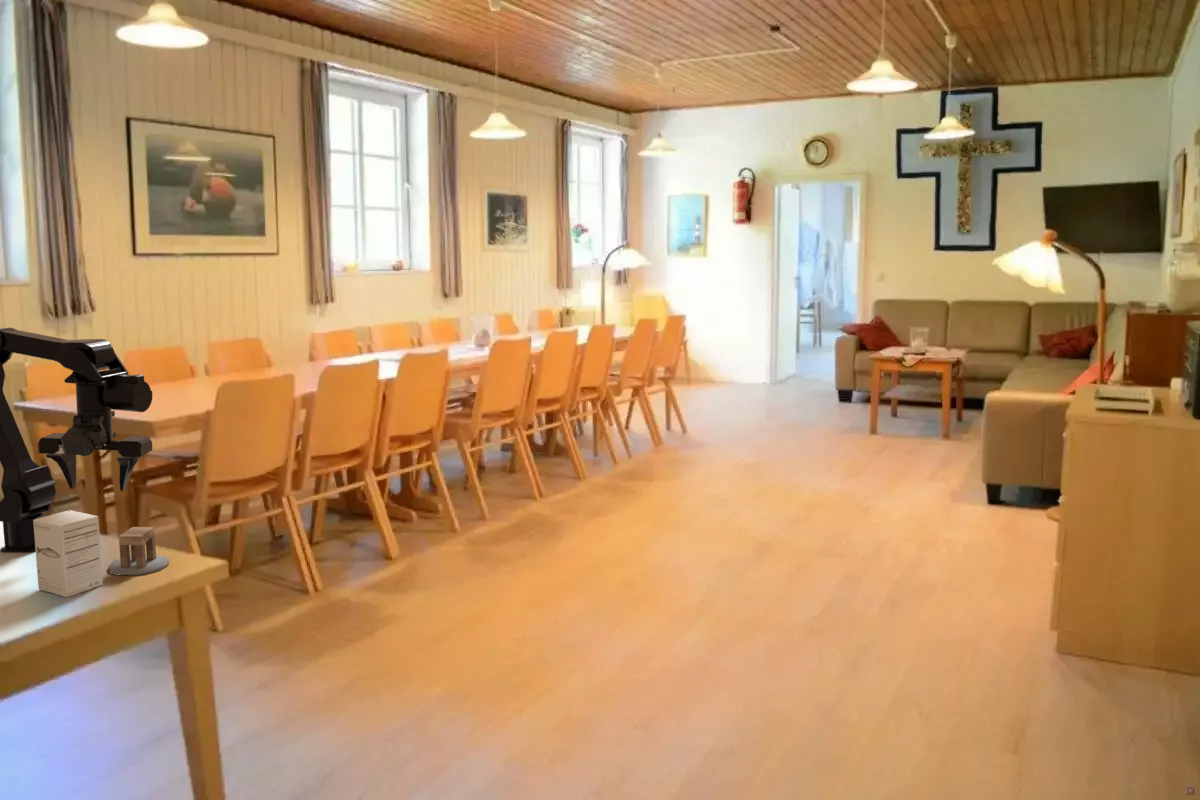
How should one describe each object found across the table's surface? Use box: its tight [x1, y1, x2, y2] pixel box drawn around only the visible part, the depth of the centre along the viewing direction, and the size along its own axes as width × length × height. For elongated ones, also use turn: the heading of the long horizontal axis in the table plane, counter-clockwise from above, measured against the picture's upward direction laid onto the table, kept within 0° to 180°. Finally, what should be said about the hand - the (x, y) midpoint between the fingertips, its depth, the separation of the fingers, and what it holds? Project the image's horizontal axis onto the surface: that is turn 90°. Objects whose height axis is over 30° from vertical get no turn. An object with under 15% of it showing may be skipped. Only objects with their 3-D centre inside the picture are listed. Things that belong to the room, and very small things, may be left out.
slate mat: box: [108, 554, 170, 576], centre depth 183 cm, size 10×10×1 cm
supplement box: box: [33, 509, 103, 598], centre depth 171 cm, size 7×7×13 cm
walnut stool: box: [118, 526, 157, 568], centre depth 183 cm, size 6×4×6 cm
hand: (97, 489), depth 188 cm, fingers open, 9 cm apart
